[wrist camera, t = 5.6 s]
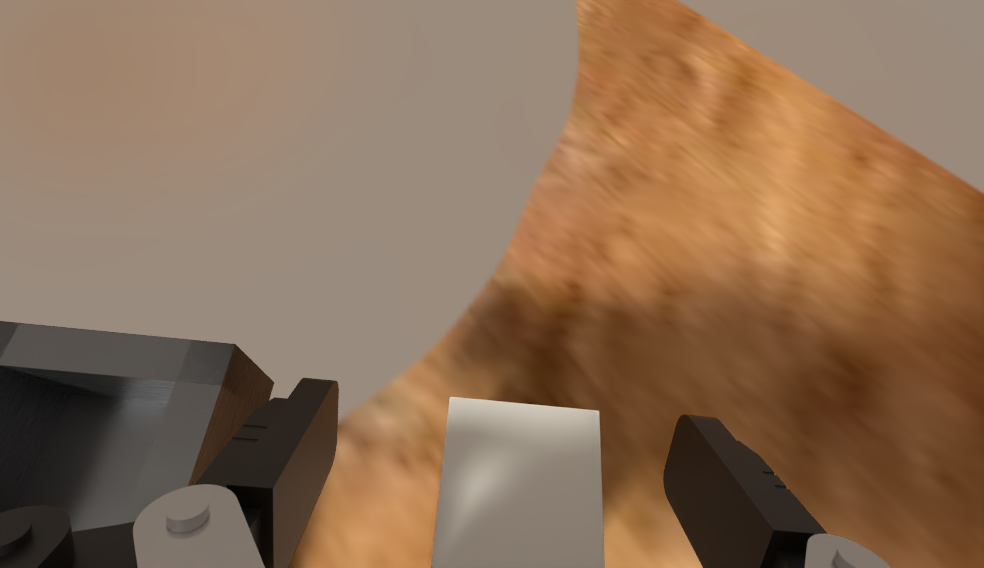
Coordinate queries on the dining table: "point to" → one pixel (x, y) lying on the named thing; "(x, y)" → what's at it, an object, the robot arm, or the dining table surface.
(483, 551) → the white rectangular block
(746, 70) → the dining table surface
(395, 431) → the dining table surface
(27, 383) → the slot rack
